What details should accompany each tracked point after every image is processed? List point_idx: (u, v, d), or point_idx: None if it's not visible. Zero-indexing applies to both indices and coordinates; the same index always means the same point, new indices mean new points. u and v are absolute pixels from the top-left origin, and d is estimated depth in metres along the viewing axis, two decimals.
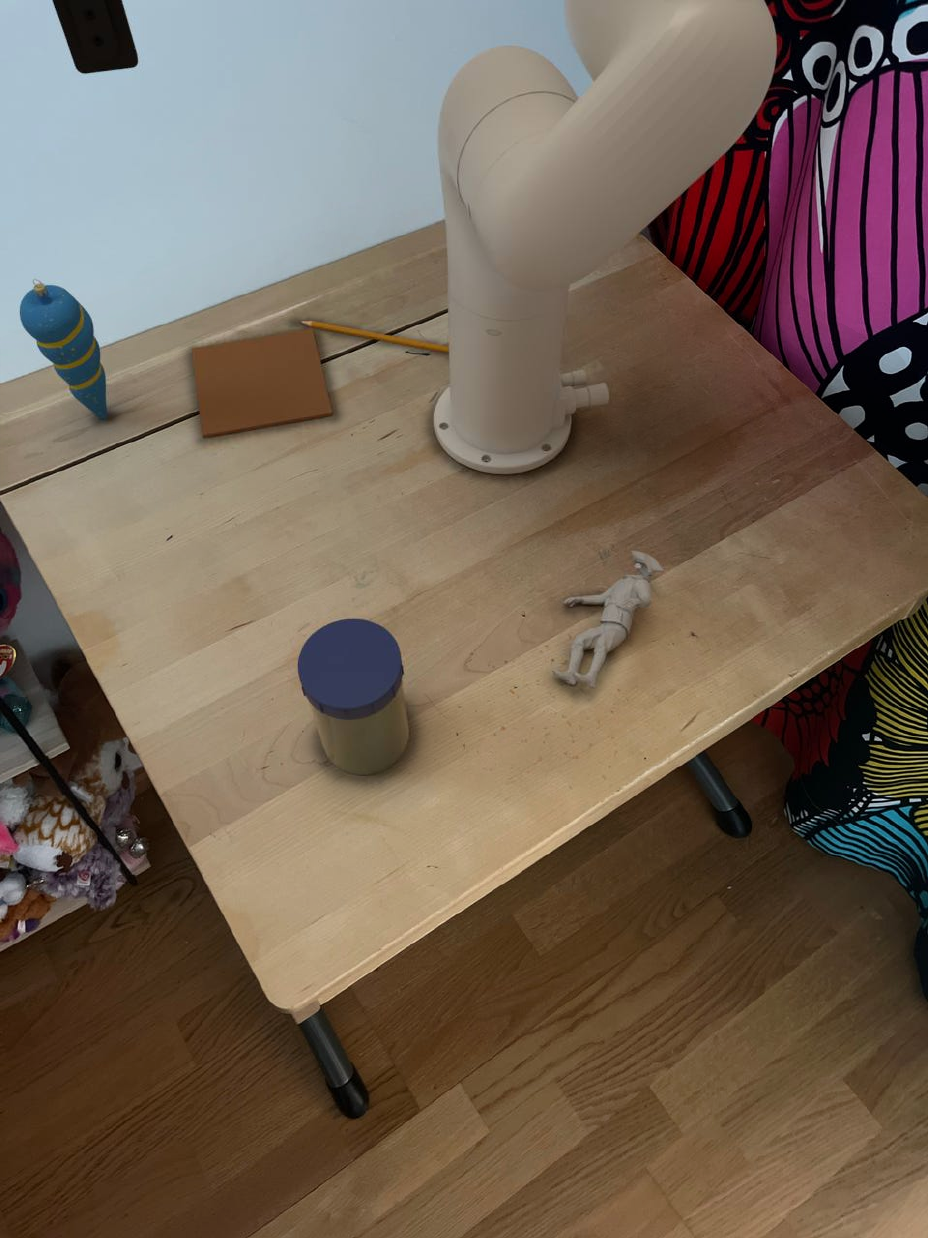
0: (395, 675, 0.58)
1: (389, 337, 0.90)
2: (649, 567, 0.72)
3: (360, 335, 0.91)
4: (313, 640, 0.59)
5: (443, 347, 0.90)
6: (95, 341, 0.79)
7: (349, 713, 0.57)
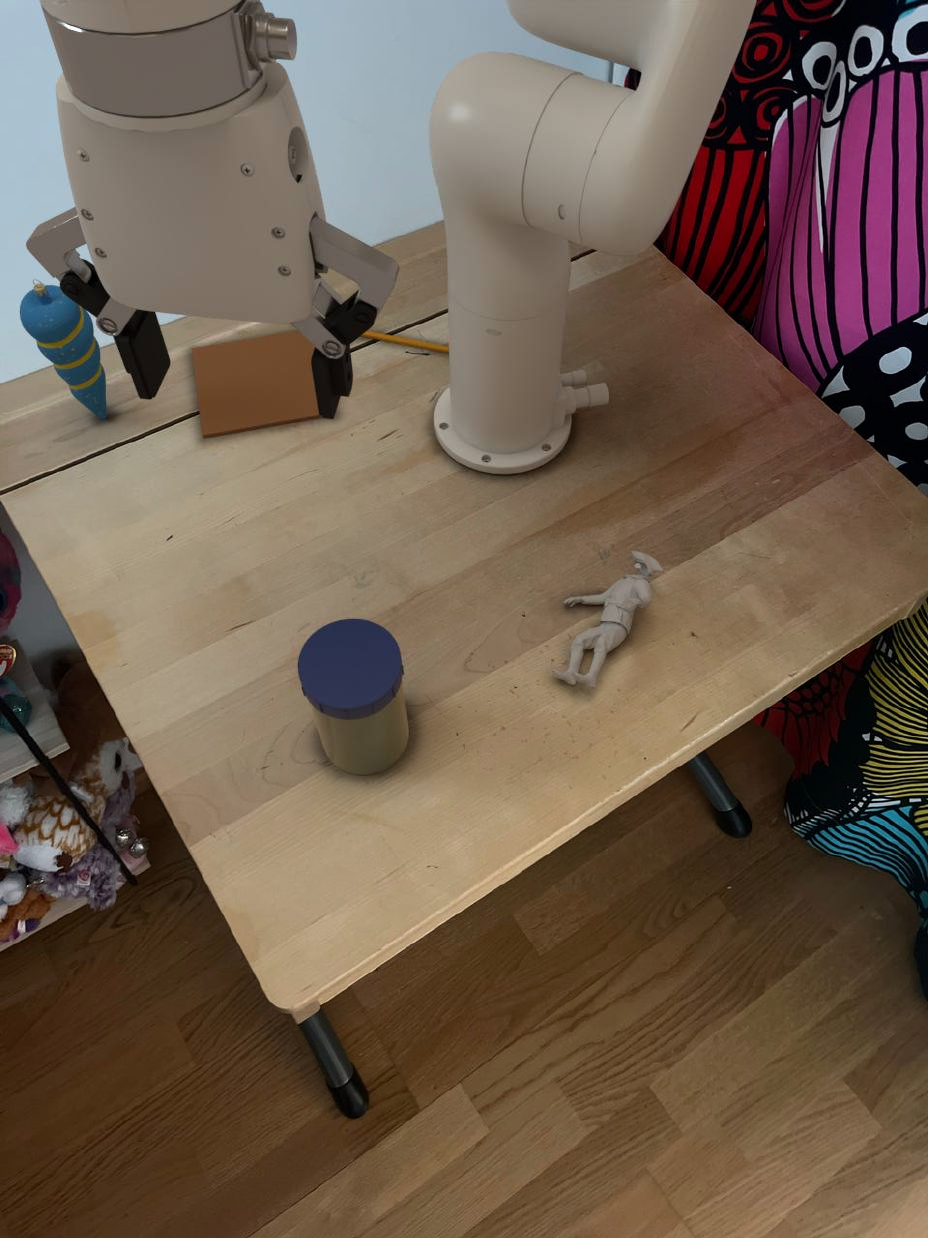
0: (395, 675, 0.58)
1: (389, 337, 0.90)
2: (649, 567, 0.72)
3: None
4: (313, 640, 0.59)
5: (443, 347, 0.90)
6: (95, 341, 0.79)
7: (349, 713, 0.57)
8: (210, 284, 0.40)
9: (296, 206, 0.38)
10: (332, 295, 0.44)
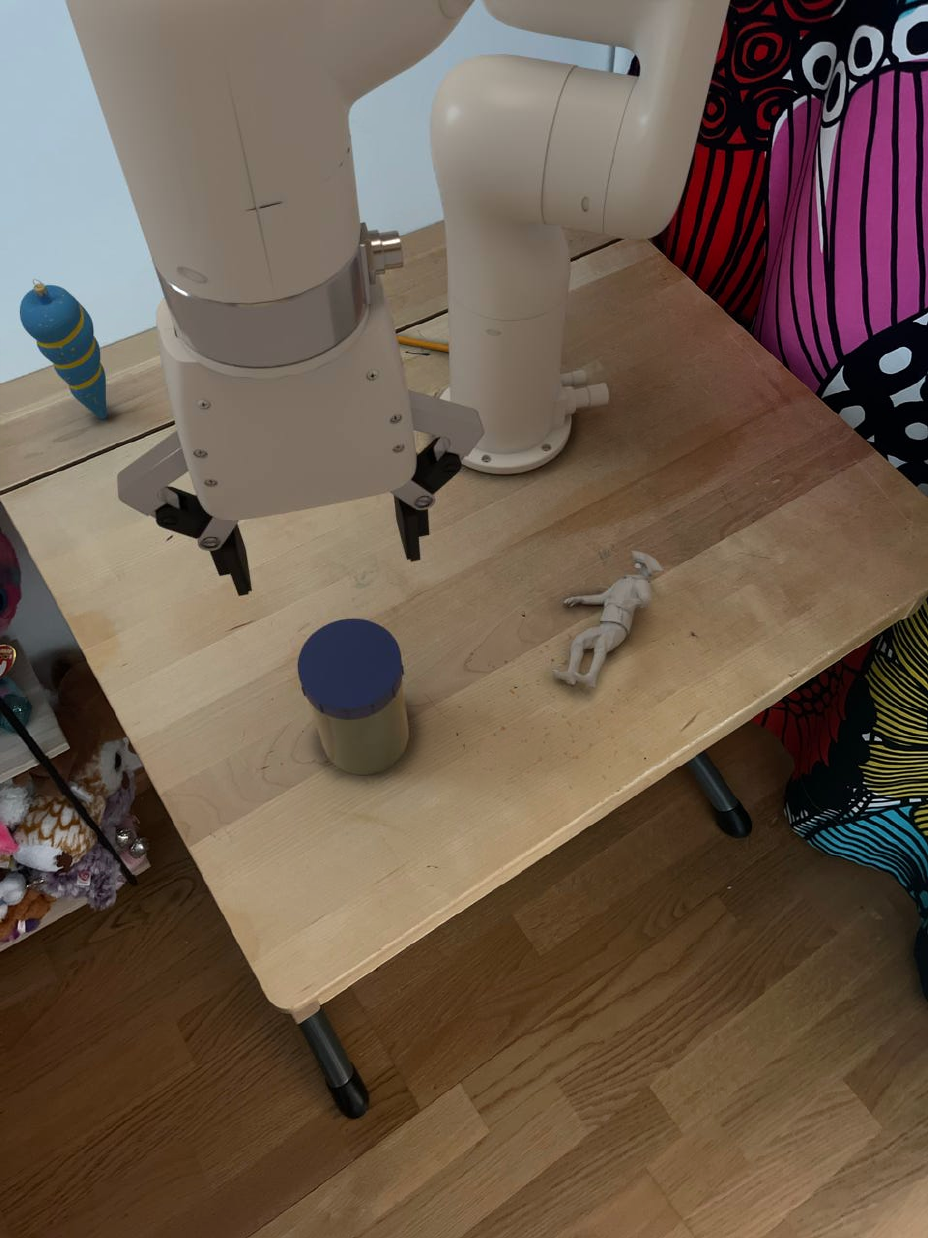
0: (395, 675, 0.58)
1: None
2: (649, 567, 0.72)
3: None
4: (313, 640, 0.59)
5: (443, 346, 0.89)
6: (95, 341, 0.79)
7: (349, 713, 0.57)
8: (325, 480, 0.41)
9: (406, 389, 0.39)
10: None
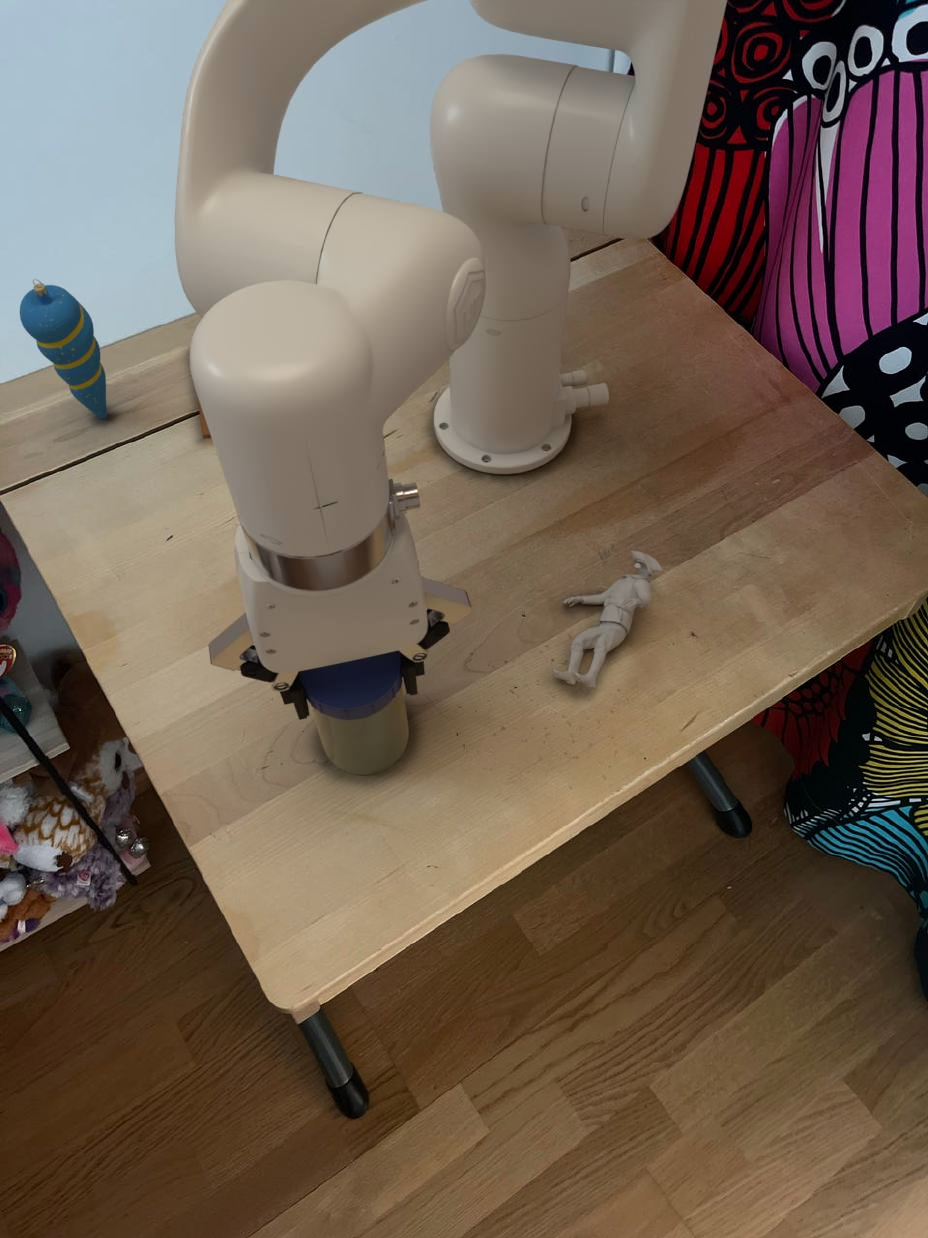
0: (395, 675, 0.58)
1: None
2: (649, 567, 0.72)
3: None
4: None
5: None
6: (95, 341, 0.79)
7: (349, 714, 0.57)
8: (357, 645, 0.53)
9: (420, 582, 0.51)
10: None
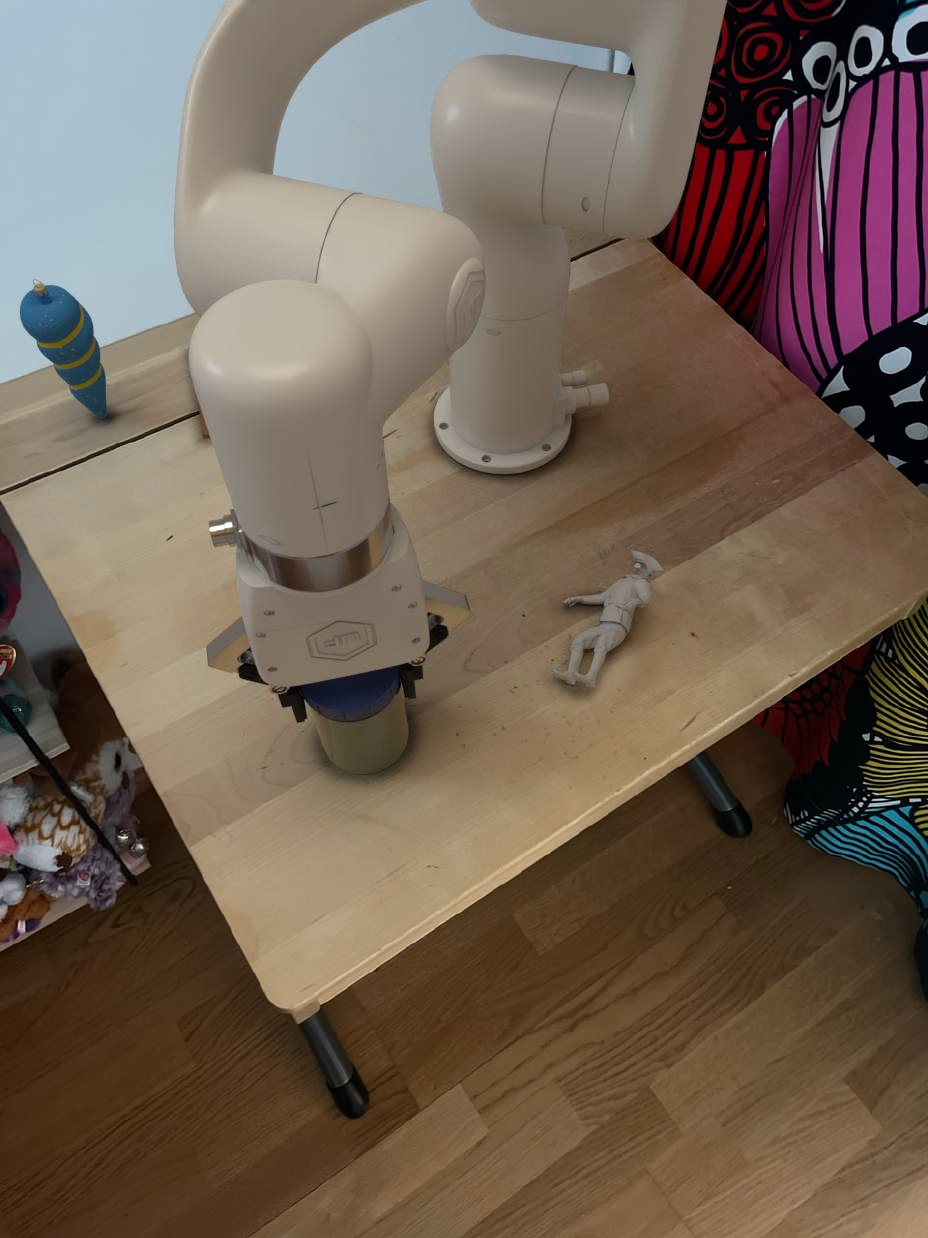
0: None
1: None
2: (649, 567, 0.72)
3: None
4: (384, 685, 0.57)
5: None
6: (95, 341, 0.79)
7: None
8: None
9: None
10: None
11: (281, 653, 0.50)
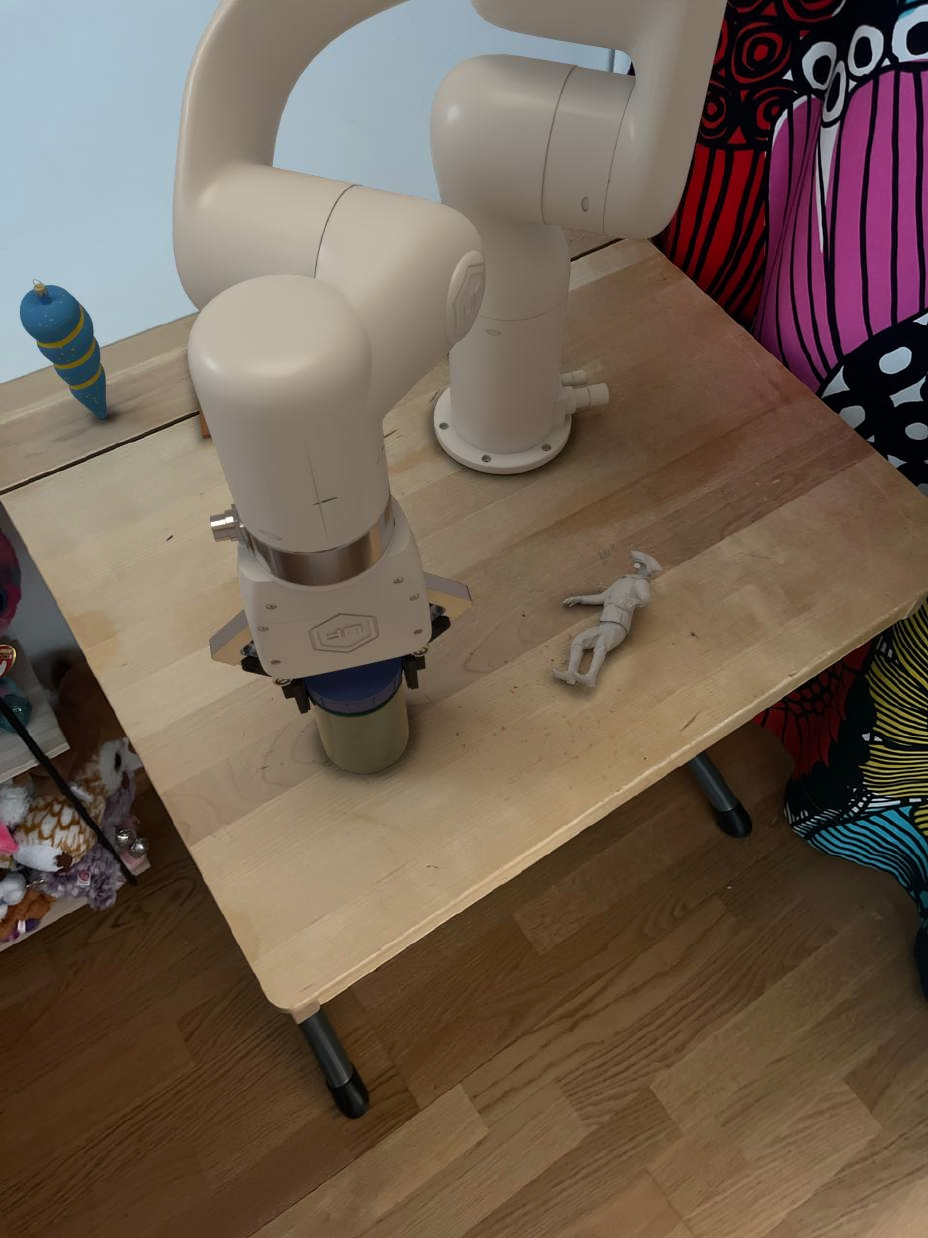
0: (396, 668, 0.58)
1: None
2: (649, 567, 0.72)
3: None
4: None
5: None
6: (95, 341, 0.79)
7: (351, 707, 0.57)
8: None
9: None
10: None
11: (284, 646, 0.50)
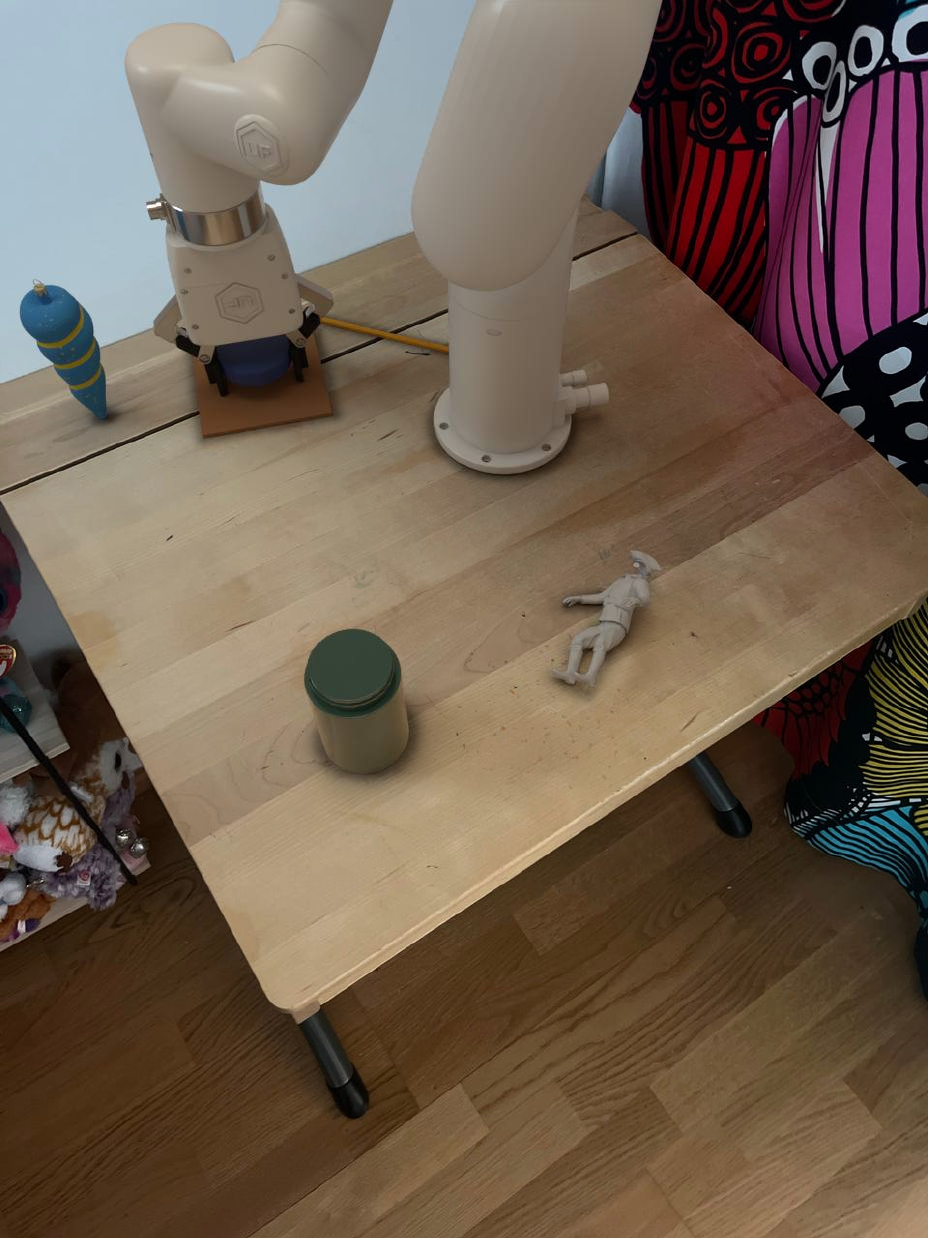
0: (284, 354, 0.83)
1: (390, 334, 0.91)
2: (648, 566, 0.72)
3: (362, 331, 0.91)
4: None
5: (443, 347, 0.90)
6: (95, 341, 0.79)
7: (252, 380, 0.83)
8: None
9: None
10: None
11: (199, 311, 0.76)
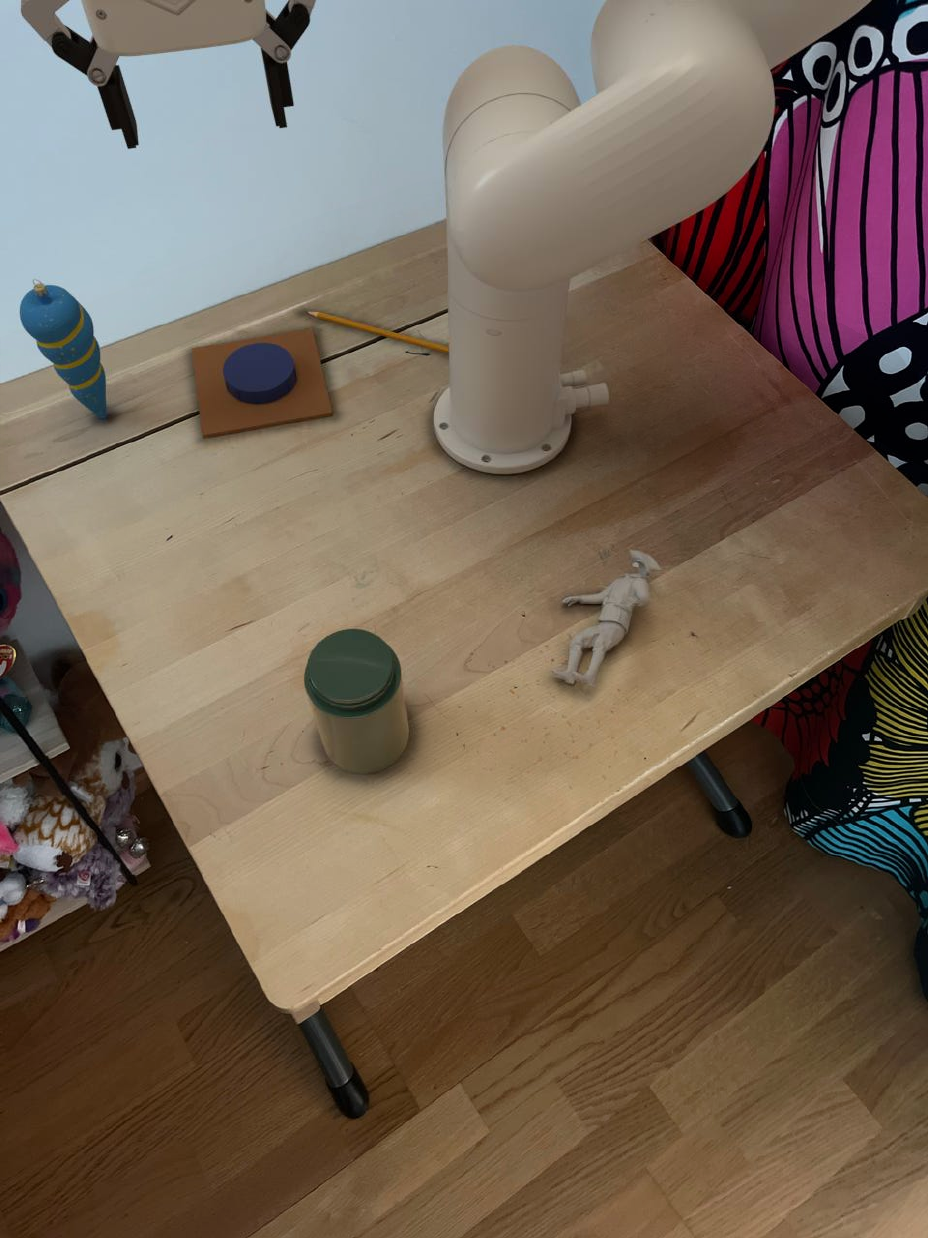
0: (289, 373, 0.85)
1: (391, 333, 0.91)
2: (647, 566, 0.72)
3: (363, 329, 0.91)
4: (234, 355, 0.87)
5: (443, 347, 0.90)
6: (95, 341, 0.79)
7: (257, 398, 0.85)
8: None
9: None
10: (95, 48, 0.54)
11: None
